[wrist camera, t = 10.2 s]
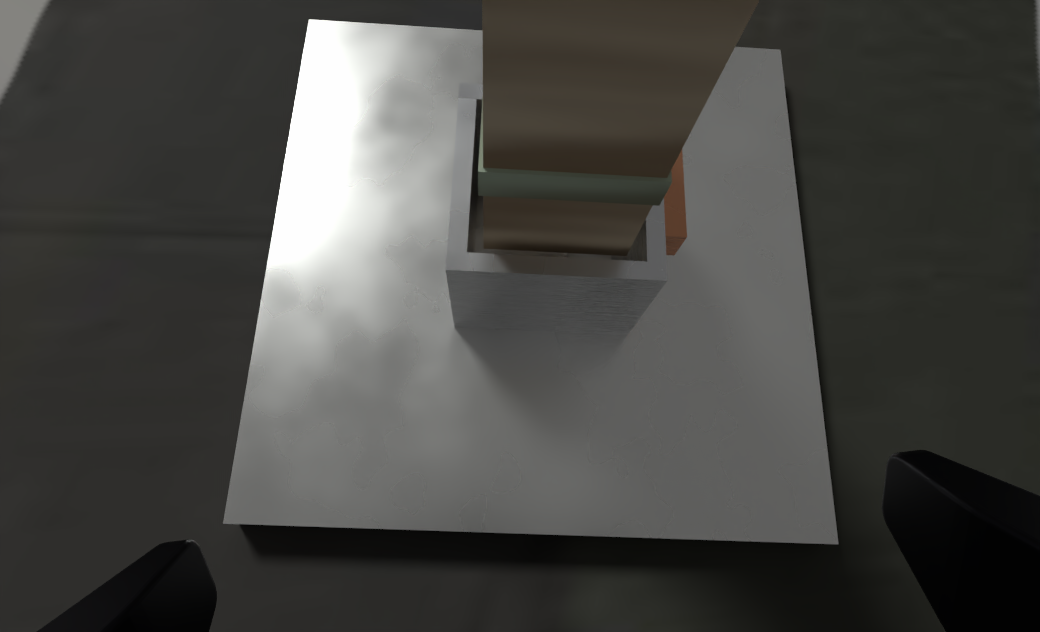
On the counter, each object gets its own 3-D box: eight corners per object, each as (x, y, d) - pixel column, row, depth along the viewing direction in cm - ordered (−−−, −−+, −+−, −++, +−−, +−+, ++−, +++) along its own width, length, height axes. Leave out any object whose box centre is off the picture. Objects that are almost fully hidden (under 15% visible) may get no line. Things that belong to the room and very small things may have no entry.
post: (630, 259, 17) (835, -120, 7) (479, 252, 17) (472, -148, 7) (626, 130, 18) (796, -345, 8) (486, 122, 18) (489, -373, 8)
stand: (818, 543, 20) (949, 549, 14) (238, 523, 19) (136, 521, 14) (767, 70, 26) (846, -59, 20) (316, 42, 25) (267, -100, 19)
